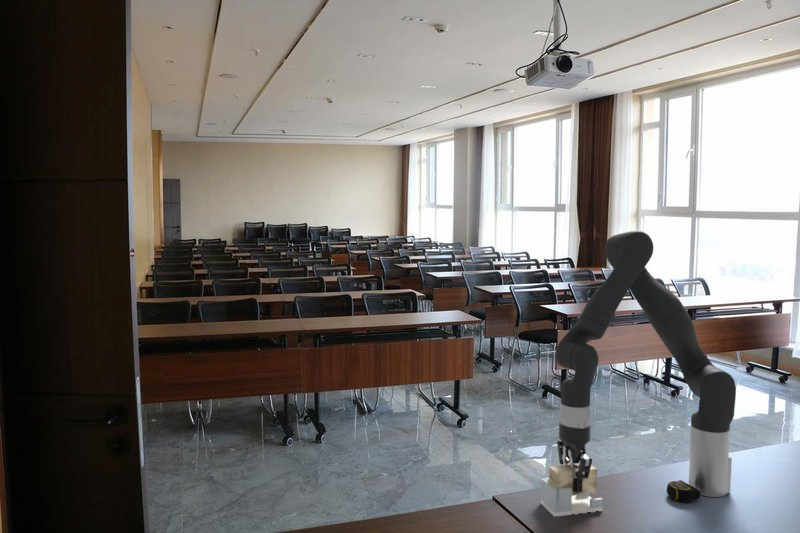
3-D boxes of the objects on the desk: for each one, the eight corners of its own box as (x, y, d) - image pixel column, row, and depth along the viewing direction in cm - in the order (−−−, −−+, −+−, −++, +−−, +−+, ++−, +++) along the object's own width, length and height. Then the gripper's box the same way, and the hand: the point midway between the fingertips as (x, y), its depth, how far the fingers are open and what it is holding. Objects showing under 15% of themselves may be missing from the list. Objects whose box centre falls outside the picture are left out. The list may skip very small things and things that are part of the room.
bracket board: (587, 497, 165) (587, 473, 164) (602, 511, 158) (603, 485, 157) (540, 503, 162) (541, 478, 161) (554, 516, 155) (554, 490, 154)
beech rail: (556, 496, 157) (556, 473, 156) (548, 489, 160) (549, 466, 160) (596, 492, 159) (597, 469, 159) (588, 485, 163) (588, 462, 162)
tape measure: (701, 503, 162) (702, 488, 162) (679, 506, 160) (680, 492, 160) (682, 491, 169) (682, 478, 169) (660, 495, 167) (661, 481, 166)
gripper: (548, 413, 164) (546, 477, 166) (575, 432, 150) (573, 502, 152) (574, 411, 166) (572, 475, 167) (603, 429, 152) (601, 499, 154)
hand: (573, 487), depth 160 cm, fingers closed on beech rail, 4 cm apart
